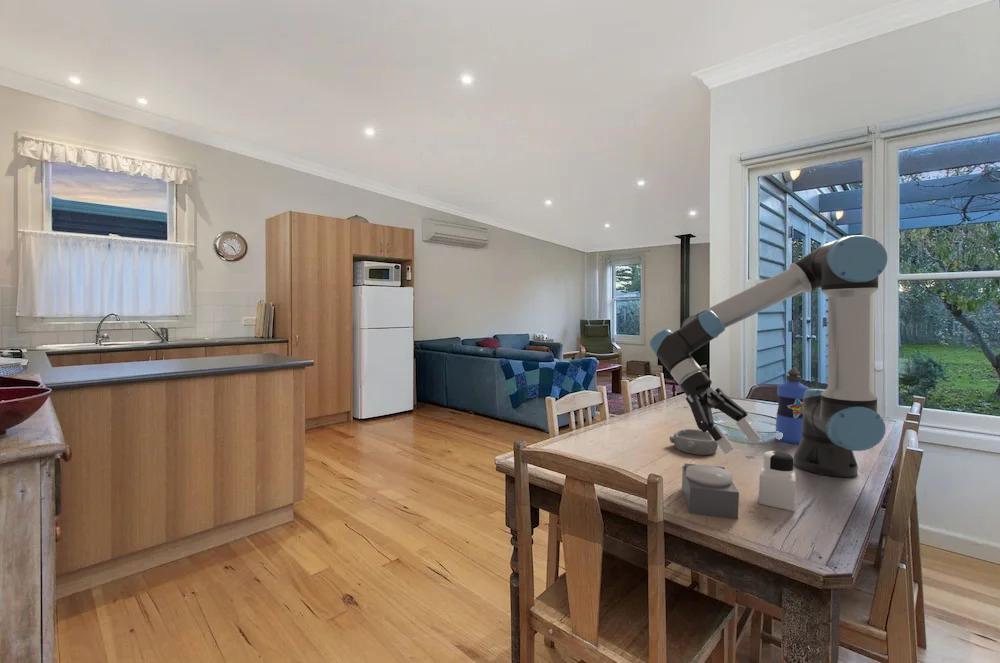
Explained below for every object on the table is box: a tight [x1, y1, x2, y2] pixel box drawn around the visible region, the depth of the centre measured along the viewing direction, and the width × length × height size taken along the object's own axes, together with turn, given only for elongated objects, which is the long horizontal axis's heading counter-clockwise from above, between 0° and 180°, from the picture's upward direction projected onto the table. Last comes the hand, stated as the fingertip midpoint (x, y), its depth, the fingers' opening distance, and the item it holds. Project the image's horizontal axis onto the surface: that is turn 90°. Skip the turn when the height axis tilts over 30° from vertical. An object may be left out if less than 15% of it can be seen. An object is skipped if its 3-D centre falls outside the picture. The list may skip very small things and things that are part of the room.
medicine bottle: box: [758, 450, 797, 512], centre depth 108 cm, size 7×7×12 cm
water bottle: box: [775, 368, 810, 445], centre depth 158 cm, size 9×9×25 cm
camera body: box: [681, 463, 740, 520], centre depth 108 cm, size 10×14×8 cm
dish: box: [669, 428, 719, 456], centre depth 148 cm, size 14×14×5 cm
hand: (744, 446), depth 114 cm, fingers open, 13 cm apart
